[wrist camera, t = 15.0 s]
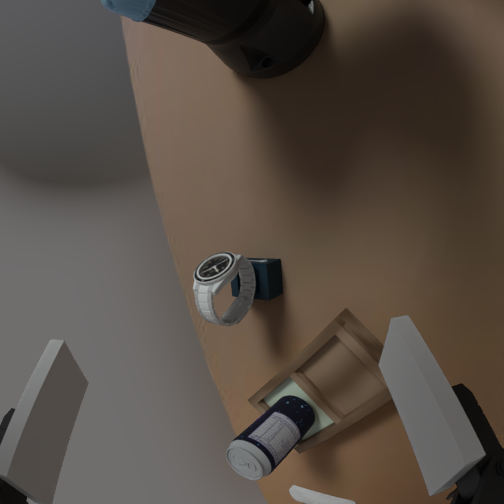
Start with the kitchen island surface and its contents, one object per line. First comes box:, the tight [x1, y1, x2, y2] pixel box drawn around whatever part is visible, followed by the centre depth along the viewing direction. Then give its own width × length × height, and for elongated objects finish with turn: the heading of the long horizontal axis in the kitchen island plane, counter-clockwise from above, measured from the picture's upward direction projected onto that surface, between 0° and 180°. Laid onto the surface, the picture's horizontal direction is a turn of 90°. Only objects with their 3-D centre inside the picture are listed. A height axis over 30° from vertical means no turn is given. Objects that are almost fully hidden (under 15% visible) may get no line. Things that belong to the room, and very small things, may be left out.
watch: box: [193, 252, 283, 326], centre depth 37 cm, size 6×8×11 cm
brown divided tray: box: [248, 308, 392, 454], centre depth 36 cm, size 11×19×4 cm, turn 144°
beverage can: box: [226, 395, 315, 480], centre depth 33 cm, size 6×6×12 cm
